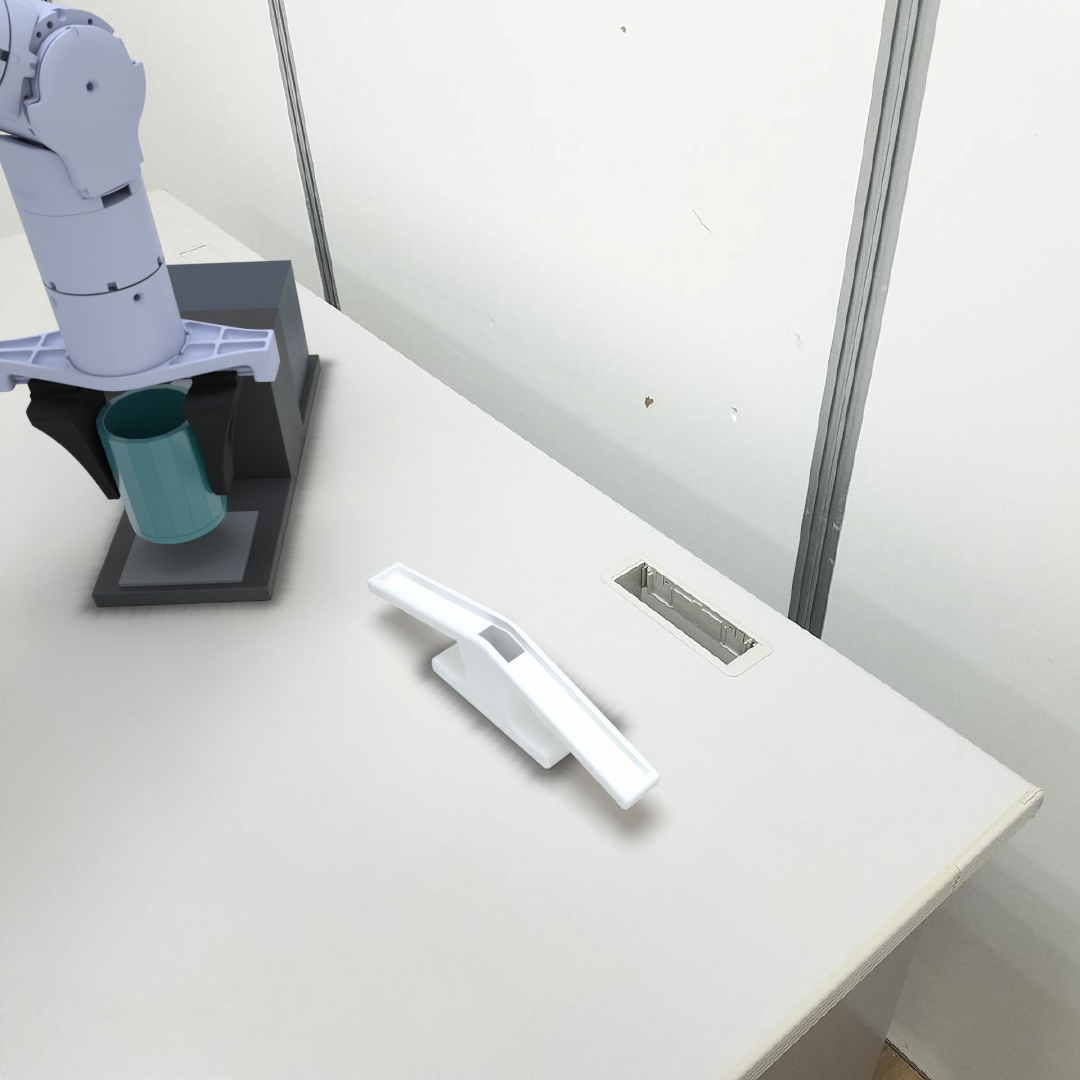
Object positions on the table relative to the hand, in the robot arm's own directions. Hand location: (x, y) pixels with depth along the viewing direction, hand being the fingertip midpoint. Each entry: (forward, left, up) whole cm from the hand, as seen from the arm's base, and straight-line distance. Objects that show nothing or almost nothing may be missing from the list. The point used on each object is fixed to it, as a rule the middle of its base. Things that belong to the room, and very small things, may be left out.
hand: (172, 486), depth 64 cm
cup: (0, 0, -2) cm, 2 cm away
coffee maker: (+3, +8, -6) cm, 10 cm away
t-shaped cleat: (+13, -18, -6) cm, 23 cm away
